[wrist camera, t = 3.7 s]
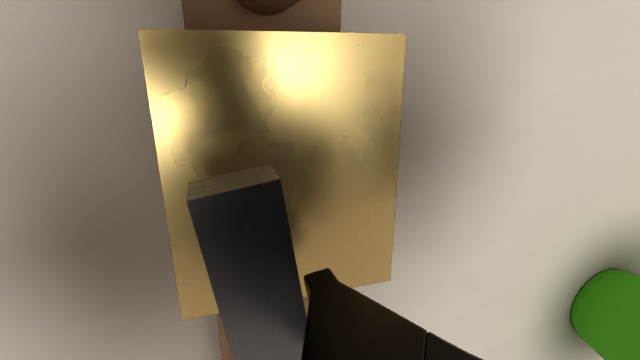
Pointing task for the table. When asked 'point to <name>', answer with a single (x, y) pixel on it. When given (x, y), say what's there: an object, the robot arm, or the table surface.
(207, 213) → the lever
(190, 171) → the gold metal plate
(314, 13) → the body
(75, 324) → the table surface
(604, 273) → the cup
